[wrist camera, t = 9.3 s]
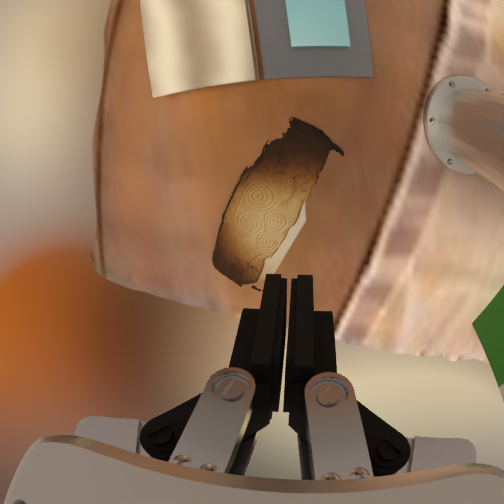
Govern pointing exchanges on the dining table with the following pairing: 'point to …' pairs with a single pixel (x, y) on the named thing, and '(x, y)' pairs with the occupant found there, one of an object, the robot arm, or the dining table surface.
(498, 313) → the hardback book
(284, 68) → the mat
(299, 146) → the parchment
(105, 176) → the dining table surface
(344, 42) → the tile
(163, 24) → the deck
